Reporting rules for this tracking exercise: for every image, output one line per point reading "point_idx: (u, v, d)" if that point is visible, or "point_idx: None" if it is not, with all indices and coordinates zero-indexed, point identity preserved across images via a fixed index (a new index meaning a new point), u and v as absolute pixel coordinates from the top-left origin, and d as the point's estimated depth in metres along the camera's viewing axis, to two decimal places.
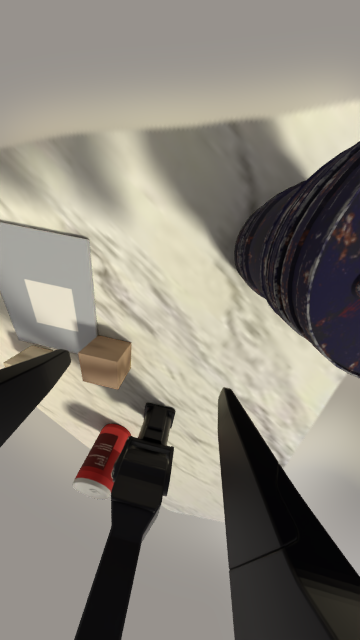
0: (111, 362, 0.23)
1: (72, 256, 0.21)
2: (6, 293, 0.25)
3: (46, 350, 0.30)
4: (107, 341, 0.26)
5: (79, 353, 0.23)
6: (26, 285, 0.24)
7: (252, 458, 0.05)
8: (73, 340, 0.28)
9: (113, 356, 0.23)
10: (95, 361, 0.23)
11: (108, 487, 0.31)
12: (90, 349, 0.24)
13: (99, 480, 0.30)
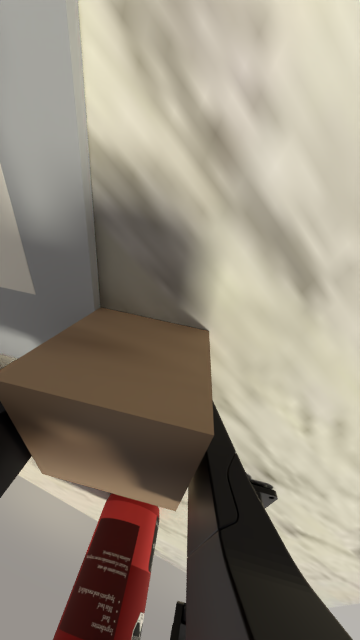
0: (177, 434, 0.04)
1: None
2: None
3: None
4: (133, 327, 0.07)
5: None
6: None
7: (209, 447, 0.05)
8: (26, 325, 0.09)
9: (177, 393, 0.05)
10: (87, 422, 0.04)
11: None
12: (63, 357, 0.05)
13: None
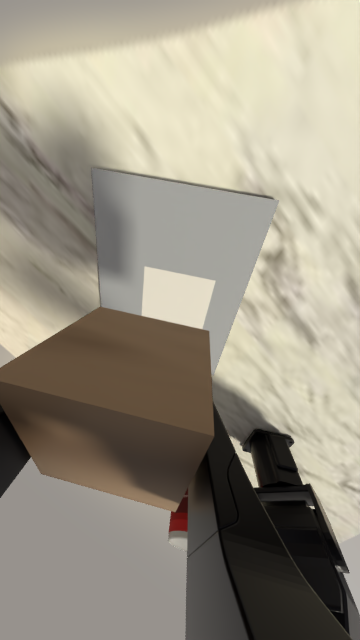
0: (176, 434, 0.04)
1: (240, 229, 0.14)
2: (108, 288, 0.18)
3: None
4: (132, 327, 0.07)
5: None
6: (144, 275, 0.17)
7: (209, 447, 0.05)
8: None
9: (177, 393, 0.05)
10: (86, 423, 0.04)
11: None
12: (62, 356, 0.05)
13: None
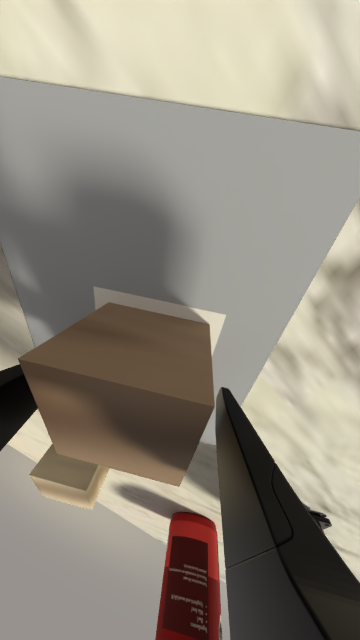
0: (183, 407, 0.05)
1: (285, 214, 0.06)
2: (39, 320, 0.10)
3: None
4: (139, 320, 0.08)
5: (25, 361, 0.05)
6: (95, 302, 0.09)
7: (248, 457, 0.05)
8: None
9: (182, 374, 0.05)
10: (104, 399, 0.05)
11: None
12: (80, 343, 0.06)
13: None
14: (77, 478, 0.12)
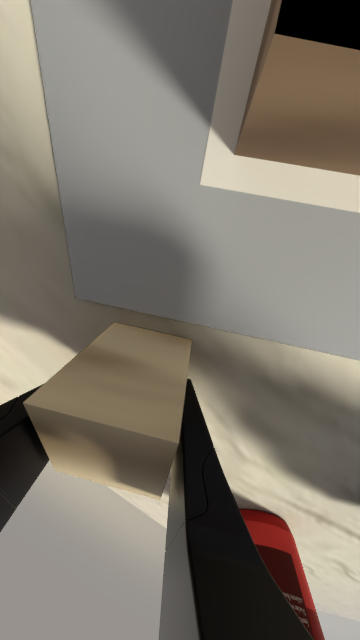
0: None
1: None
2: None
3: (171, 339, 0.08)
4: None
5: None
6: None
7: (187, 441, 0.05)
8: (352, 286, 0.06)
9: None
10: None
11: None
12: None
13: None
14: (148, 416, 0.05)
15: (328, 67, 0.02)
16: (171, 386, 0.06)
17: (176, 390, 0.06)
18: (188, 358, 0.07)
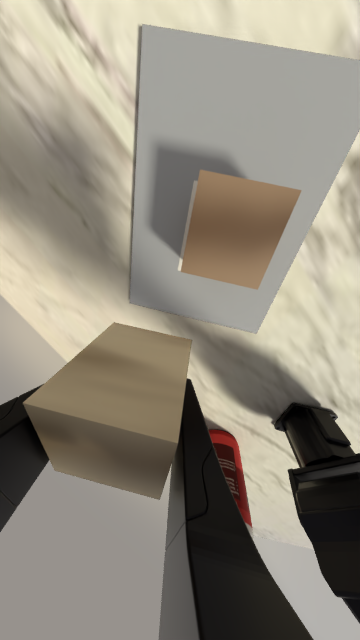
0: (283, 194, 0.09)
1: (329, 116, 0.11)
2: (143, 215, 0.15)
3: (171, 339, 0.08)
4: None
5: (202, 172, 0.09)
6: (192, 194, 0.14)
7: (187, 441, 0.05)
8: (229, 302, 0.18)
9: None
10: (238, 197, 0.09)
11: None
12: None
13: (243, 518, 0.20)
14: (147, 416, 0.05)
15: None
16: (170, 386, 0.06)
17: (175, 390, 0.06)
18: (188, 358, 0.07)
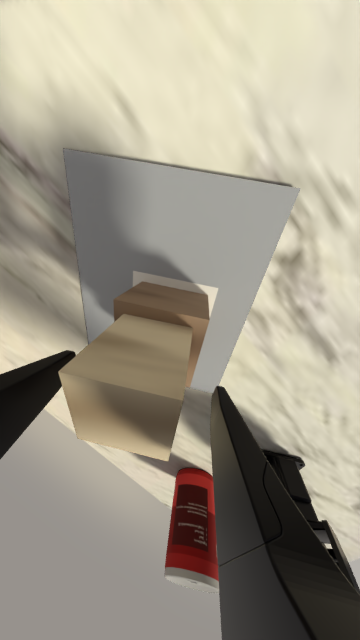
0: (194, 322, 0.09)
1: (250, 226, 0.11)
2: (91, 295, 0.15)
3: (174, 327, 0.09)
4: (164, 290, 0.13)
5: (116, 301, 0.10)
6: (133, 282, 0.14)
7: (241, 455, 0.05)
8: None
9: (193, 310, 0.10)
10: None
11: None
12: (138, 296, 0.11)
13: (209, 573, 0.20)
14: (158, 382, 0.06)
15: None
16: (175, 362, 0.07)
17: (180, 365, 0.07)
18: (190, 342, 0.08)
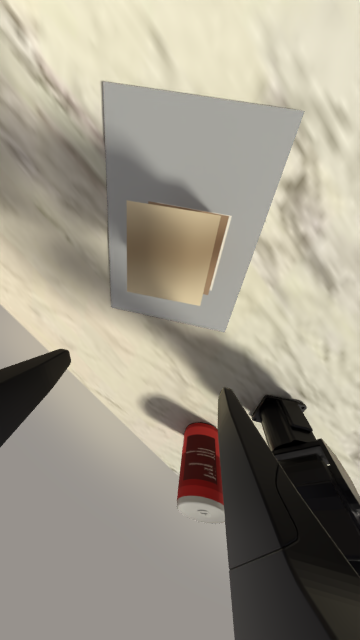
0: None
1: (261, 150, 0.13)
2: (117, 231, 0.17)
3: None
4: None
5: (150, 203, 0.11)
6: None
7: (252, 458, 0.05)
8: None
9: None
10: None
11: None
12: None
13: (218, 500, 0.22)
14: (199, 213, 0.08)
15: None
16: None
17: None
18: None
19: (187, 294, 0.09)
